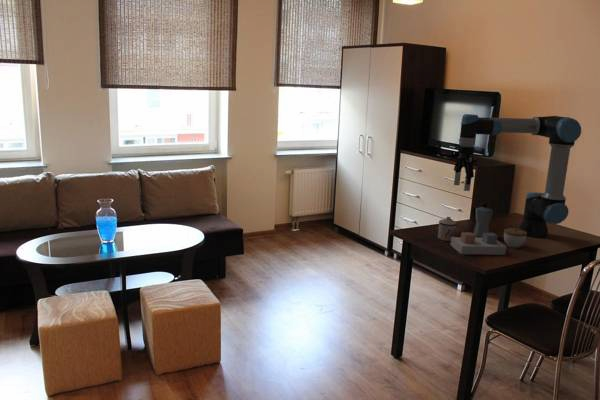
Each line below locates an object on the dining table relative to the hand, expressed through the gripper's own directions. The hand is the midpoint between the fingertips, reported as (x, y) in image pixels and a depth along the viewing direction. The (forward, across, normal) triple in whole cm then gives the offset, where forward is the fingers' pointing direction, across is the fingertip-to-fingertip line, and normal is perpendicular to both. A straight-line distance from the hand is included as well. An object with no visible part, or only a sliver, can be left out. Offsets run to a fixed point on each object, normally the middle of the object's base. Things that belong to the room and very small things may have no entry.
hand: (461, 188), depth 265 cm
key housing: (+28, +15, +6) cm, 32 cm away
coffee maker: (+28, -10, +17) cm, 34 cm away
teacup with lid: (+28, -3, -2) cm, 28 cm away
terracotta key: (+24, +15, 0) cm, 28 cm away
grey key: (+24, +15, +11) cm, 30 cm away
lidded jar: (+28, +7, +28) cm, 40 cm away
